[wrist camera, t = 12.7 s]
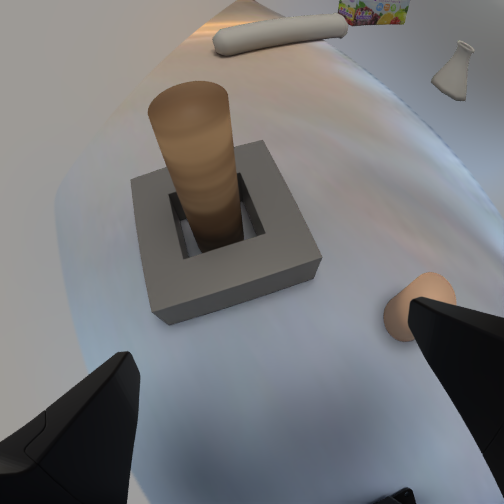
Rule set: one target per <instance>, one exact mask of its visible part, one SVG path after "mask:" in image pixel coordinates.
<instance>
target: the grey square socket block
mask: <svg viewBox="0 0 504 504" xmlns="http://www.w3.org/2000/svg"><path fill="white" fill-rule="evenodd" d="M234 154H235V163H236V172H237V181H238V189H239V198H240V202H241V201H243V202H244V204H245V207H246V209H247V212H248V215H249V217H250V220H251V222H252V225H253V227H254V230H255V232H256V235H257V236H256V237H253V238H250V239H247V240H243V241H240V242H237V243H234V244H231V245H228V246H224V247H221V248H218V249H215V250H212V251H209V252H205V253H202V254H199V255H196V256H193V257H190V258H189V256H188V252H187V248H186V244H185V240H184V236H183V232H182V228H181V224H180V220H183V219H186V218H187V217H186V215H185V212H184V210H183V207H182V205H181V202H180V200H179V197H178V195H177V192H176V189H175V187H174V184H173V182H172V179H171V176H170V174H169V171H168V169H167V167H165V168H162V169H159V170H156V171H154V172H151V173H148V174H145V175H142V176H139V177H136V178H134V179H131V189H132V198H133V206H134V214H135V221H136V229H137V235H138V242H139V248H140V254H141V260H142V266H143V272H144V277H145V282H146V287H147V292H148V297H149V302H150V307H151V311H152V313H153V314H155V315H156V316H157V317H159V318H160V319H161V320H162V321H164V322H165V323H166V324H168V325H172V324H175V323H179V322H182V321H185V320H189V319H192V318H195V317H198V316H202V315H205V314H208V313H211V312H214V311H218V310H221V309H224V308H227V307H230V306H233V305H236V304H240V303H243V302H246V301H249V300H252V299H255V298H258V297H261V296H264V295H267V294H270V293H273V292H276V291H279V290H281V289H284V288H287V287H290V286H293V285H296V284H299V283H302V282H304V281H307V280H310V279H313V278H314V276H315V274H316V271H317V269H318V267H319V264H320V262H321V259H322V255H321V253H320V251H319V249H318V247H317V245H316V243H315V241H314V238H313V236H312V234H311V232H310V230H309V228H308V226H307V224H306V222H305V220H304V218H303V216H302V214H301V212H300V210H299V208H298V206H297V204H296V202H295V200H294V198H293V196H292V194H291V192H290V190H289V188H288V186H287V184H286V182H285V181H284V179H283V177H282V175H281V173H280V171H279V169H278V167H277V165H276V163H275V162H274V160H273V158H272V156H271V154H270V152H269V150H268V149H267V147H266V145H265V143H264V141H263V140H260V141H256V142H252V143H248V144H244V145H240V146H237V147H234Z"/></svg>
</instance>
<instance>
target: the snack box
mask: <svg viewBox="0 0 504 504" xmlns="http://www.w3.org/2000/svg"><path fill="white" fill-rule="evenodd" d="M409 3H410V0H340V1H339V8H338V14H340V15H342V16H343V17H344V18H345V20H346V22H347V23H348V24H349V25H351V26H361V25H385V24H404V23H405V19H406V14H407V11H408V7H409Z"/></svg>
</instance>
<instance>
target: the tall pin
mask: <svg viewBox="0 0 504 504" xmlns="http://www.w3.org/2000/svg"><path fill="white" fill-rule="evenodd" d="M148 116H149V119H150V122H151V125H152V128H153V130H154V133H155V136H156V139H157V142H158V144H159V147H160V150H161V152H162V155H163V158H164V161H165V163H166V166H167V169H168V171H169V174H170V176H171V179H172V182H173V184H174V187H175V189H176V192H177V195H178V197H179V200H180V202H181V205H182V207H183V210H184V212H185V215H186V217H187V220H188V222H189V225H190V227H191V230H192V232H193V234H194V237H195V239H196V242H197V244H198V247H199V249H200V250H201V252H202V253H205V252H209V251H212V250H215V249H218V248H221V247H224V246H228V245H231V244H234V243H237V242H240V241H243V240H244V232H243V224H242V215H241V207H240V198H239V189H238V181H237V172H236V163H235V154H234V146H233V137H232V128H231V119H230V110H229V101H228V94H227V92H226V90H225V89H224V88H223V87H222V86H220V85H218V84H215V83H212V82H207V81H193V82H186V83H182V84H179V85H176V86H173V87H171V88H169V89H167V90H165V91H163V92H162V93H160V94H159V95H158V96H157V97H156V98H155V99H154V100H153V101H152V102H151V104H150V106H149V108H148Z"/></svg>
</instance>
